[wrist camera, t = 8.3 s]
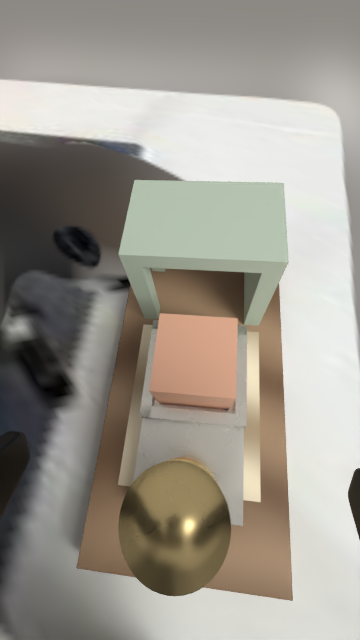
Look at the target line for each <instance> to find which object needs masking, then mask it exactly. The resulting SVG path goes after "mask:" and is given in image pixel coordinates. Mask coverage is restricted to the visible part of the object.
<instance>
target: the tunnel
mask: <svg viewBox="0 0 360 640" xmlns="http://www.w3.org/2000/svg"><path fill="white" fill-rule="evenodd" d="M119 257H120V260H121V262H122V265H123V267H124V269H125V272H126V274H127V277H128V279H129V282H130V284H131V286H132V289H133V291H134V294H135V296H136V299H137V301H138V303H139V306H140V308H141V311H142V313H143V315H144V318H146V319H159V312H160V304H159V300H158V297H157V293H156V289H155V286H154V282H153V278H152V275H151V271H150V268H152V271H158V272H165V269H187V270H208V271H229V272H244V325H255V326H259V324H260V322H261V319H262V317H263V315H264V313H265V311H266V309H267V307H268V305H269V302H270V300H271V298H272V296H273V294H274V292H275V290H276V288H277V285H278V283H279V281H280V279H281V277H282V275H283V273H284V271H285V268H286V266H287V264H288V246H287V230H286V213H285V197H284V183H262V182H210V181H157V180H153V181H152V180H135V181H134V186H133V190H132V195H131V199H130V204H129V208H128V213H127V217H126V222H125V227H124V231H123V236H122V240H121V245H120V249H119Z"/></svg>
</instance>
